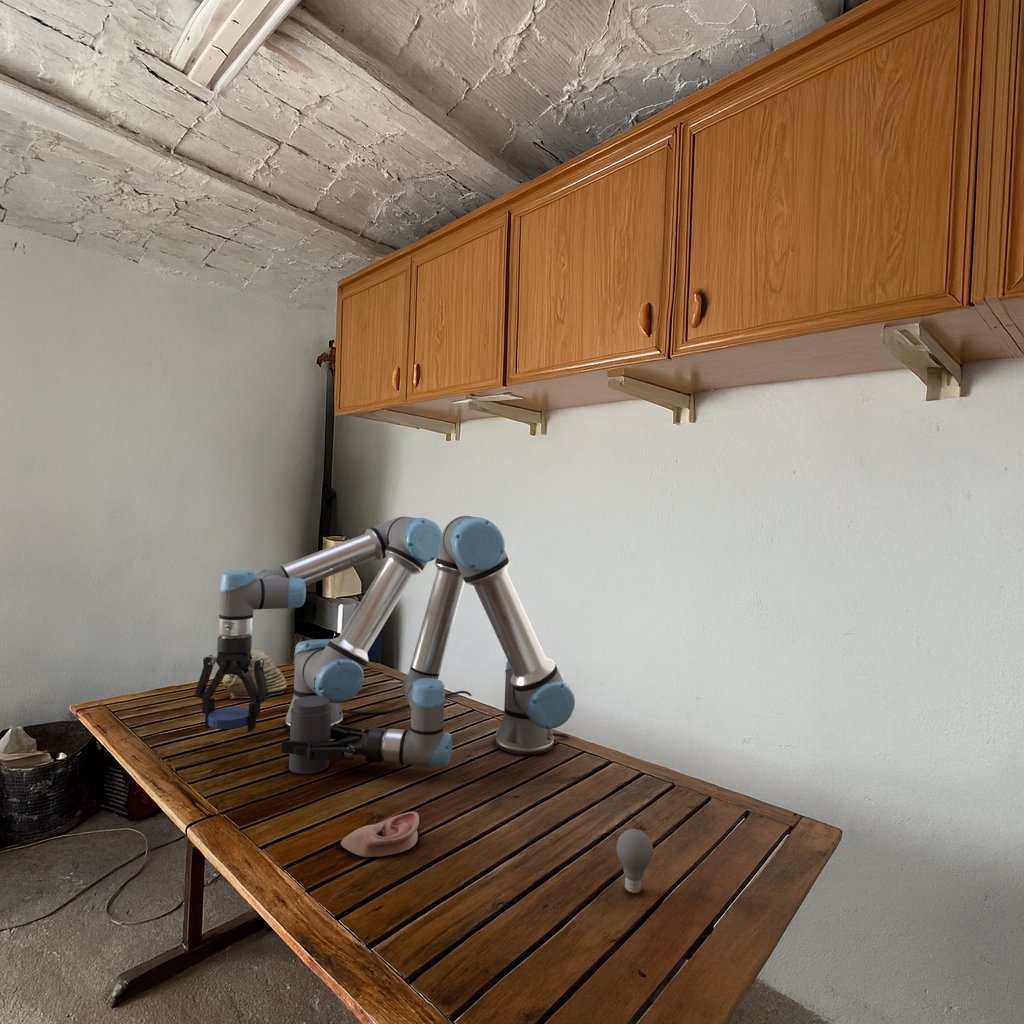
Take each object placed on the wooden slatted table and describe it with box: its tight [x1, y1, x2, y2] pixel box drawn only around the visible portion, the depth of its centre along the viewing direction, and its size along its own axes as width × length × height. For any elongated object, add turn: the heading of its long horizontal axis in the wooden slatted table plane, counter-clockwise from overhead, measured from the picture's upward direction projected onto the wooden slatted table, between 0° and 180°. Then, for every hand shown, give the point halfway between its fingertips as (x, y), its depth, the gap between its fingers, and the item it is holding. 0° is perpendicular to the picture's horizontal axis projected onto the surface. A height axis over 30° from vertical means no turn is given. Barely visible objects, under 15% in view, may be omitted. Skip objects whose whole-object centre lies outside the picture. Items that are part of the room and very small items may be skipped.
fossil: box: [222, 647, 288, 699], centre depth 198 cm, size 9×18×15 cm, turn 132°
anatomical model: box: [340, 811, 420, 858], centre depth 117 cm, size 13×4×12 cm
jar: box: [288, 696, 331, 775], centre depth 149 cm, size 9×9×15 cm
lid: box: [208, 706, 249, 730], centre depth 151 cm, size 10×10×2 cm
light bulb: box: [615, 828, 654, 894], centre depth 106 cm, size 6×6×10 cm
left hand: (230, 728), depth 151 cm, fingers closed on lid, 10 cm apart
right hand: (291, 738), depth 149 cm, fingers closed on jar, 9 cm apart
